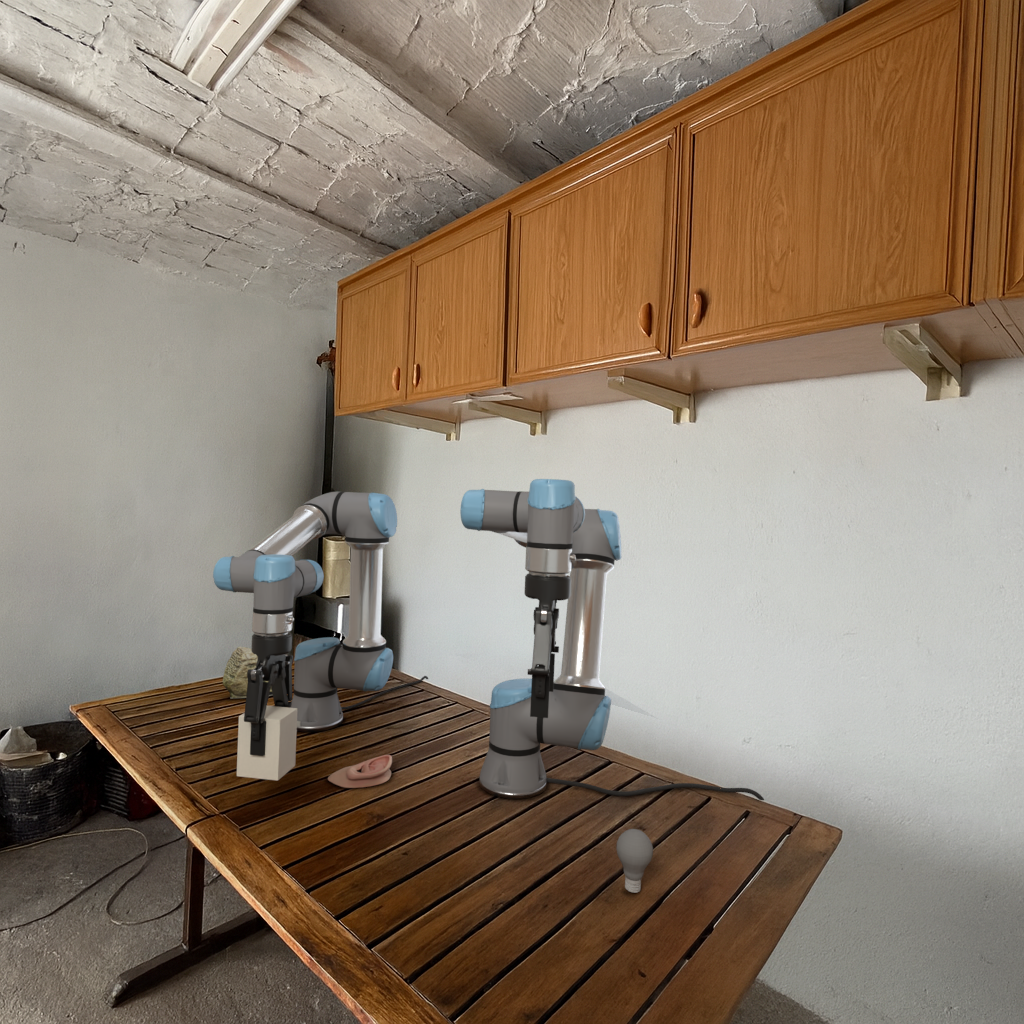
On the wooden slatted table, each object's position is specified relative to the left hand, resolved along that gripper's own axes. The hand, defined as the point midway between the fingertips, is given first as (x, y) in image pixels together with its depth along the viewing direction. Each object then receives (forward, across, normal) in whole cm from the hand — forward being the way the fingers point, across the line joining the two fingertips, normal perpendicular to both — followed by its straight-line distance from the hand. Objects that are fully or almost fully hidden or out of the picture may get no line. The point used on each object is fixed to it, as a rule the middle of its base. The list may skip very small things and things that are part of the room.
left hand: (268, 746), depth 126 cm
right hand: (-18, -15, -56) cm, 60 cm away
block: (+5, 0, 0) cm, 5 cm away
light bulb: (+13, -12, -72) cm, 74 cm away
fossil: (+13, +67, +40) cm, 79 cm away
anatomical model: (+13, +18, -13) cm, 26 cm away
